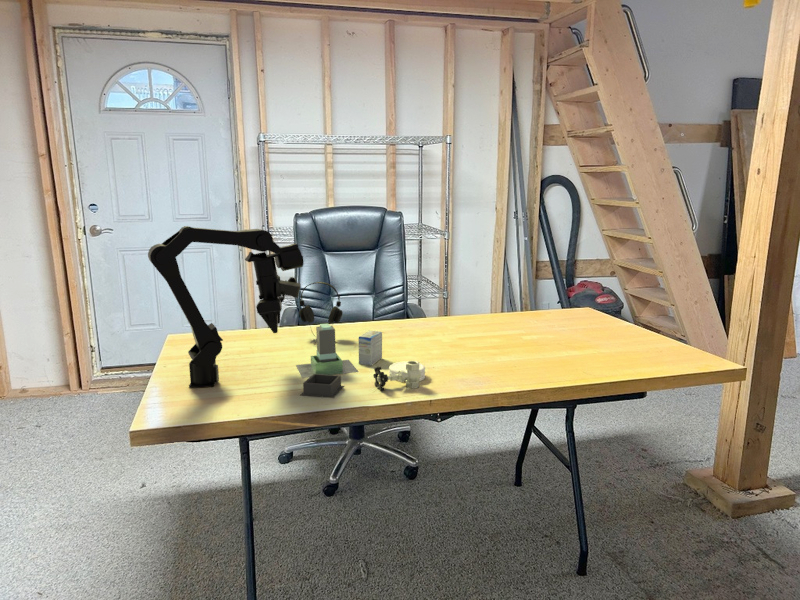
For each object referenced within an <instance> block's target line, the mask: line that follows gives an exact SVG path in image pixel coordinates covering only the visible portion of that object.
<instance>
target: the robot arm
mask: <svg viewBox="0 0 800 600" xmlns="http://www.w3.org/2000/svg"><path fill="white" fill-rule="evenodd" d="M192 243H200V244H201V243H203V244H215V245H232V246H238V247H242V248H246V249H250V250H253V251H256V252H257V251H258V253H254V252H252V251H249V252H248V254H247V256H246V257H245V258H244V260H245V261H246V262H248V263H252V262H253V266H254V267H253V268H254V271H255V276H256V281H255V284H256V286H257V287H258V293H259V295H258V299H259V301H258V302H257V304H256V306H255V307H256V312H257V314H258V315H259V316H260V317H261V318H262V319H263V321H264V322H265V323H266V325H267V327H269V329H270V331H271V332H272V333H273V334H278V333H279V329H278V327H279V326H278V325H279V324H280V323H281V312H282V310H283V307H282V305H283V304H282V303H283V302H284V300H285V296H289V297H292V298H299V295H300V289H301V283H300V282H297V279H296V277H293V276H290V277H289V279H285V280H282V279H281V277H280V275H279V274H278V270H277V269H280V270H281V271H282V272H285V271H289V270H294V269H297V268H298V269H299V268H302V267H303V266H304V257H303V254H302V252H301V250H300V248H299V245H298V243H290V244H289V245H284V246H280V245H278V244H277V243H276V242H275V241H274V239H273V236H272V234H271V233H270V232H269V231H268V230H264V229H262V228H261V229H260V228H251V229H250V228H249V229H242V230H226V229H214V228H204V227H203V228H202V227H192V226H189V225H184V226H182V227H181V228H180V229H179V230H178V231H177V232H176V233H174V234H173V235H171V236H170V237H168V238H166V239H165V240H164V241H163V242H162V243H157V244H154V245H153V246H150V248H149V249H148V252H147V257H148V261H150V263H151V264H152V265H153V266H154V268H155V269H156V270H157V271H158V273H159V274H160V275H161V276H162V277H163V279H164V280H165V281H166V284H167V285H168V287H169V289H170V290H171V292H172V294H173V296H174V298H175V300H176V302H177V304H178V305H179V307H180V309H181V310H182V313H183V315H184V316H185V318H186V320H187V322H188V324H189V325H190V329H191V333H192V335H193V340H194V342H195V343H194V344H193V346H192V347H191V348H190V349H188V351H187V352H188V355H189V357H190V359H191V361H189V363H188V367H189V378H190V383H189V384H188V387H189V388H203V387H204V388H205V387H206V388H207V387H208V388H209V387H214V386H215V385H216V384H217V382H218V381H219V379H220V375H219V373H220V372H219V365H218V364H217V361H216V360H217V356H218V355H220V354H221V352H222V349H223V344H222V341H224V339H223V338H222V337H221V336H220V335H219V332H218V329H217V327H216V325H214V324H213V323H212V322H211V323H209V324H207V322H206V321H205V319H204V317H203V315H202V313H201V312H200V310H199V308H198V306H197V303H196V302H195V300H194V298H193V297H192V294H191V293H190V291H189V289H188V287H187V285H186V283H185V282H184V280H183V278H182V275H181V270H180V267H179V264H178V261H177V257H178V256H179V255H180V254H182V252H184V250H186V248H188V247H189V245H191V244H192ZM267 251H268V252H270V254H269V253H268V254H267V253H266V252H267Z"/></svg>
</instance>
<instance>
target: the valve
mask: <svg viewBox="0 0 800 600" xmlns="http://www.w3.org/2000/svg"><path fill="white" fill-rule="evenodd" d="M407 361H408V362H407V363H406V371H403V370H401V371H399V372H398V373H397V375H396V374H390V376H389V375H388V374H385V371H381V370H382V367H381V366H377V367H374V368H373V369H374V370H373V371H374V372H375V373H374V374H373V379H375V380H374V386H375V387H376V389H377V390H379V391H380V392H382V391H383V392H384V391H385V386H386V383H387V382H389V381H390V382H394V381H395V382H396V381H397V380H399V381H398V382H400V383H403V382H405V387H406V388H408V389H419V387H420V382H419V379H420V376H421V373H420V370H419V363H420V362H419V360H418V361H417V360H407ZM396 379H397V380H396ZM405 380H406V381H405Z"/></svg>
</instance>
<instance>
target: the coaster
mask: <svg viewBox="0 0 800 600" xmlns="http://www.w3.org/2000/svg"><path fill="white" fill-rule="evenodd" d="M408 361H409V360H407V361H404V360H403V361H397V362H394V363H391V364H390V365H389V367H388V376H390V374H396V375H397V373H398V372H399V371H401V370H403V371H406V363H407V362H408ZM419 370H420V373H421V376H420V379H419V383H420V382H422V381H424V380H425V378H426V375H425V374H426V366H425V365H424V364H422V363H420V362H419ZM395 381H398V382H400V381H399V380H397V379H396V380H395ZM404 382H406V380H405V381H404Z"/></svg>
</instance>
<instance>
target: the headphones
mask: <svg viewBox="0 0 800 600" xmlns="http://www.w3.org/2000/svg"><path fill="white" fill-rule="evenodd" d="M315 284H321V285H322V284H323V285H326V286H328V287H330V288H332V289H333V291H334V292H335V293H336V295H337V298H338V300H337V301H336V304H335V306H333V307H332V309H331V310H330V313H329V315H328V320H327V321H328V324H334V323H335V324H338V323H339V322H341V319H342V316H343V314H344V313H343V312H344V311H343V310H341V309H340V307H341V305H342V304H341V303H342V301H340V299H341V294H339V292H338V291H337V290H336V288H335V286H333V285H332V284H330V283H328V282H324V281H316V282H311V283H308V284H307V285H306V286H304V288H303V289H302V291H301V294H300V300H299V305H300V306H302V308H300V309H299V312H298V314H299V318H300V321H302V322H303V323H306V322H308V324H309V326H310V328H312V327H311V326H312V325H310V323H313V322H314V321H315V314H314V311H313V309H312V307H311V306H310V305H307V304H306V305H305V300H304V299H303V293H304V292H305V290H306V289H307V287H308V286H311V285H315ZM310 330H311V333H312V334H313V336H314V337H316V336H315V334H314V333H313V330H312V329H310ZM336 343H338V341H336V340H335V344H336ZM315 345H316V346H317V343H315Z"/></svg>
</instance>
